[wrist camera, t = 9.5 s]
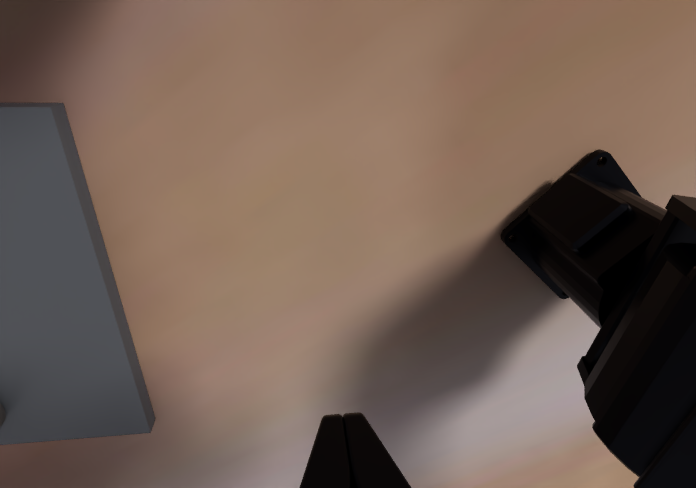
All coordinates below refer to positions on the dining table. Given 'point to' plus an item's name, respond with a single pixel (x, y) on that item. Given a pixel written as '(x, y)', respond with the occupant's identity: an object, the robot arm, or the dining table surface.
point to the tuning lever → (2, 415)
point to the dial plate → (58, 294)
